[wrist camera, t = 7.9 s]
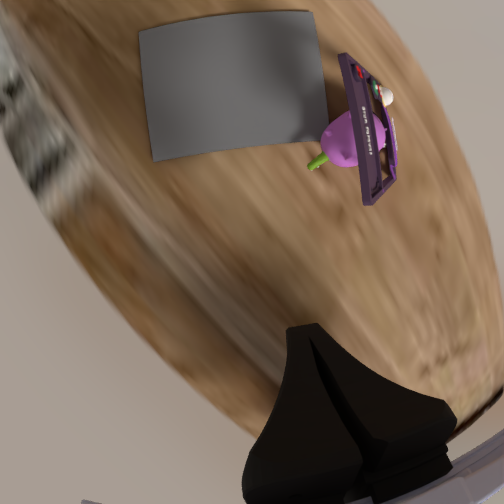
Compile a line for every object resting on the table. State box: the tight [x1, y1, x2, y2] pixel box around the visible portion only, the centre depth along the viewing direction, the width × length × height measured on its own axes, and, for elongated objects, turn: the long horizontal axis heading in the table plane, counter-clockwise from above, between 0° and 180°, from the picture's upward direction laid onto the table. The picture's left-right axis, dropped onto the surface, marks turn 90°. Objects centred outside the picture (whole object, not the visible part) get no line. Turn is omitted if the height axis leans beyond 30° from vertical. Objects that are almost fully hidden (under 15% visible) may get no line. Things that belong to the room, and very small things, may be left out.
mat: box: [139, 11, 329, 162], centre depth 15 cm, size 9×11×1 cm
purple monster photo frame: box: [307, 53, 398, 206], centre depth 15 cm, size 7×5×9 cm
